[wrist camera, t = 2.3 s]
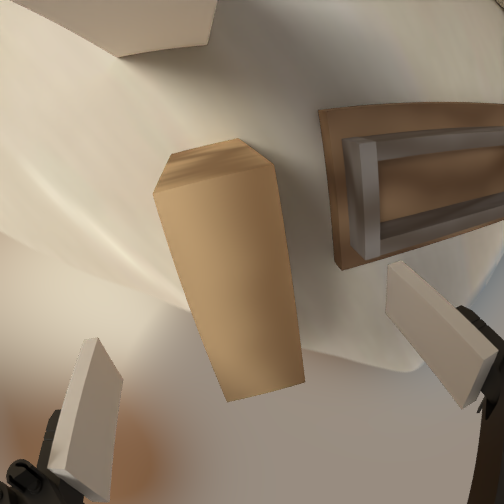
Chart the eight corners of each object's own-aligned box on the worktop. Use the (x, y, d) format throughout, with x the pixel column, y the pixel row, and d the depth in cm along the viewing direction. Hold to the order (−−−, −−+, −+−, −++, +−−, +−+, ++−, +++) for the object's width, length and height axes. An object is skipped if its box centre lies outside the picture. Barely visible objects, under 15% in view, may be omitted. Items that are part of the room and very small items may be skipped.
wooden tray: (317, 110, 20) (343, 112, 17) (507, 104, 22) (535, 110, 18) (334, 261, 26) (355, 287, 22) (503, 211, 27) (528, 225, 24)
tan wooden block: (213, 303, 25) (227, 402, 17) (171, 154, 20) (152, 193, 11) (270, 288, 26) (308, 381, 17) (241, 137, 20) (279, 163, 11)
